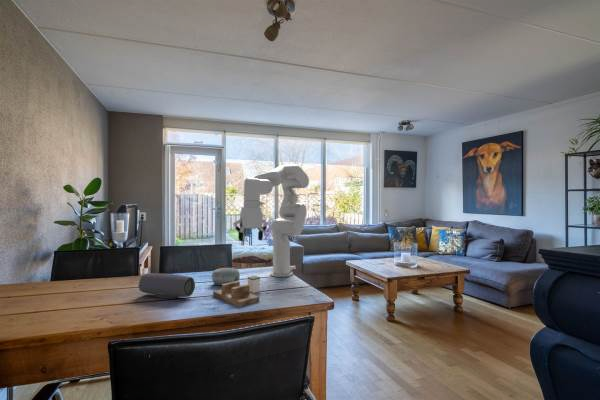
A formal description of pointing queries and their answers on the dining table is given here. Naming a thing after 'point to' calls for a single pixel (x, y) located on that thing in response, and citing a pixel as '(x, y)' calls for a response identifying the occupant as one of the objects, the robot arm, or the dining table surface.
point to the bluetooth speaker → (167, 285)
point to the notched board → (236, 294)
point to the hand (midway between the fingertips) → (250, 240)
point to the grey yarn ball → (225, 275)
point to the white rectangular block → (254, 284)
